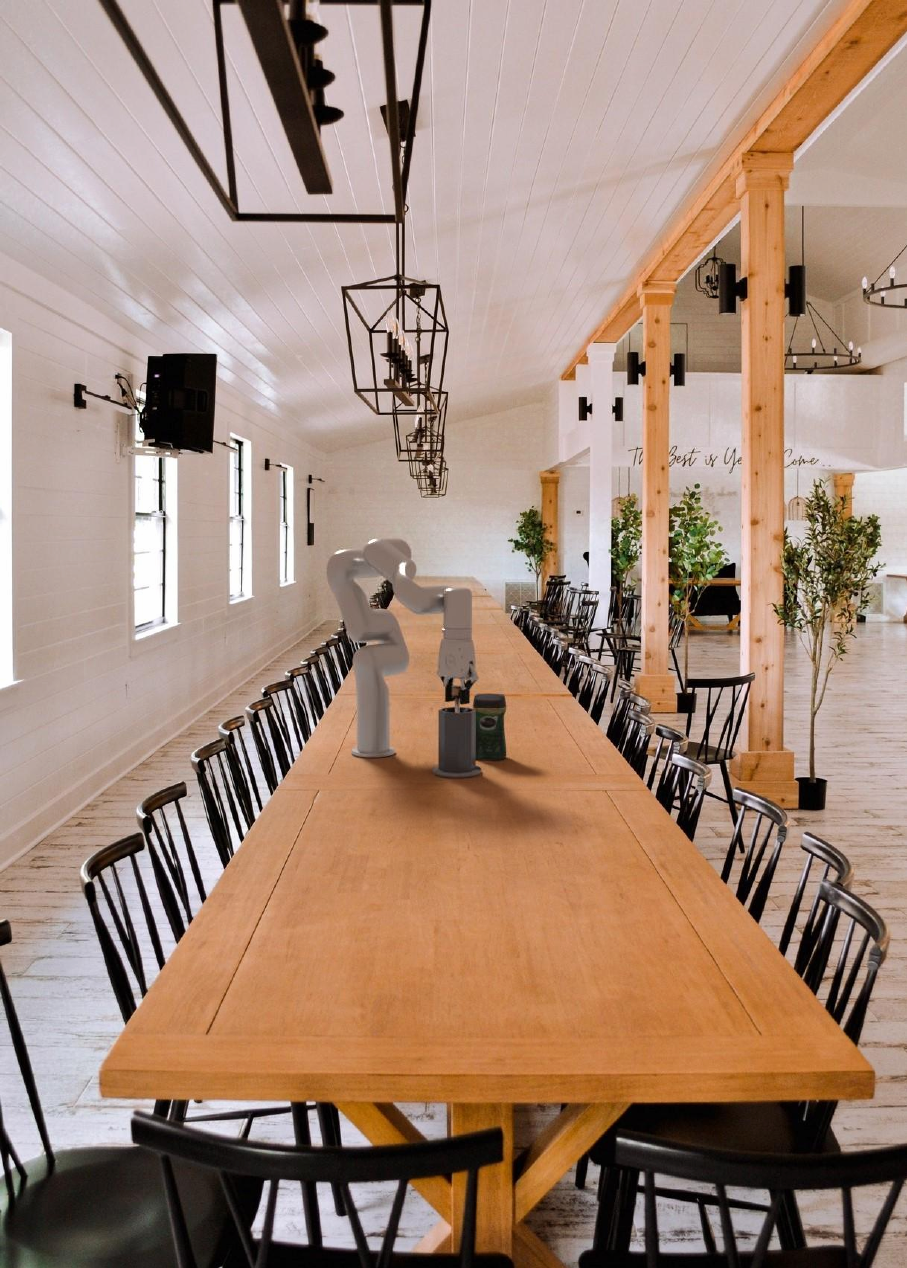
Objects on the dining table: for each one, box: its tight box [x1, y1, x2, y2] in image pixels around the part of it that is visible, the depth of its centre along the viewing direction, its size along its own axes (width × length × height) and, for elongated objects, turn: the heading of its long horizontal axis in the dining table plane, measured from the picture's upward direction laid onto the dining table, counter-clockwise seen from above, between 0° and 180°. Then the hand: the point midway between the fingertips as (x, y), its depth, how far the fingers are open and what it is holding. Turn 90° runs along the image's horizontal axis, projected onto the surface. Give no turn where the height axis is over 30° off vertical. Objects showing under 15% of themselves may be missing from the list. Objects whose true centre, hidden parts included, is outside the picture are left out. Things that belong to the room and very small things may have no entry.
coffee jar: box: [472, 692, 507, 761], centre depth 295 cm, size 10×8×19 cm
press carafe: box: [432, 706, 482, 779], centre depth 278 cm, size 14×13×17 cm
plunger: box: [451, 684, 462, 713], centre depth 277 cm, size 7×7×22 cm
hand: (457, 701), depth 276 cm, fingers open, 4 cm apart
